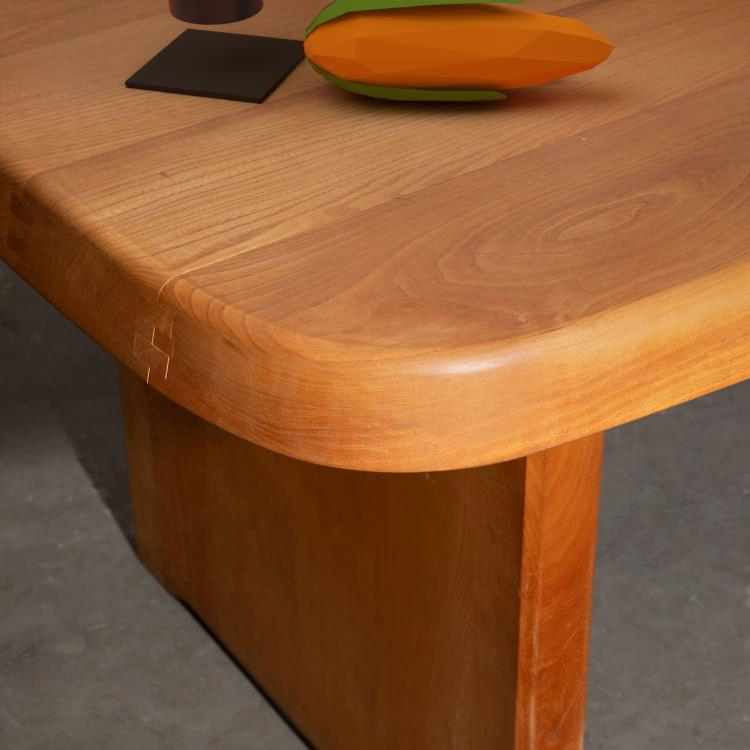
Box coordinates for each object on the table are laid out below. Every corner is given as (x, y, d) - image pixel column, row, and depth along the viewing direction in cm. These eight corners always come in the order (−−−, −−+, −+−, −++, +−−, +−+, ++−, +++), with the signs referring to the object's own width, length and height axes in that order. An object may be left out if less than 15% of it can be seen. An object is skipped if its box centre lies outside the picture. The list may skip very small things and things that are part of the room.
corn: (307, -40, 95) (615, -39, 93) (314, 66, 100) (607, 69, 98) (293, 8, 89) (620, 10, 88) (301, 119, 94) (612, 123, 92)
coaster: (315, 47, 103) (315, 41, 103) (261, 103, 96) (260, 97, 95) (187, 33, 106) (187, 28, 106) (125, 87, 98) (124, 81, 98)
